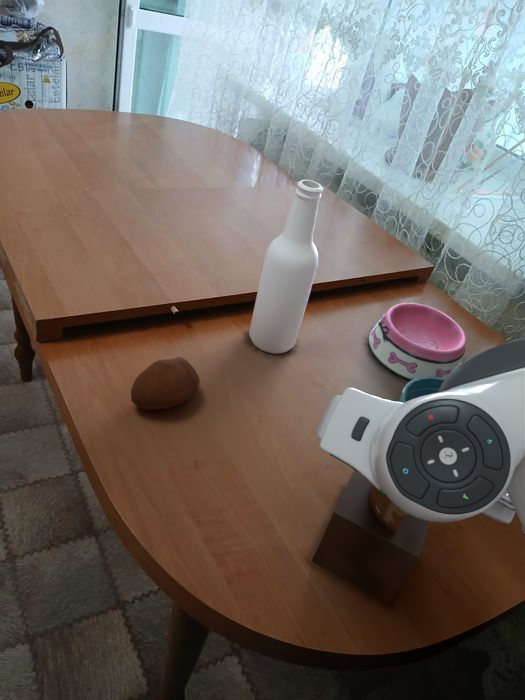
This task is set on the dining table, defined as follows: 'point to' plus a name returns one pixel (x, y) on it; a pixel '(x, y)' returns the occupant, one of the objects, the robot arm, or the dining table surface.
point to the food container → (386, 509)
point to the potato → (165, 384)
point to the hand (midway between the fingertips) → (408, 460)
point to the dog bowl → (417, 342)
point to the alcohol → (287, 275)
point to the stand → (369, 543)
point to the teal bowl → (420, 388)
